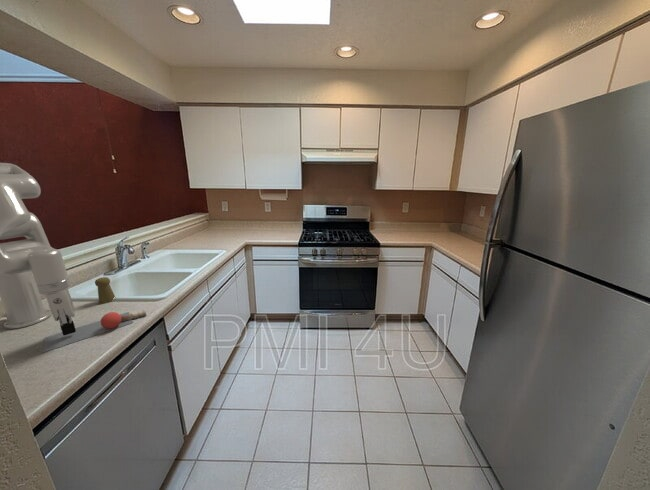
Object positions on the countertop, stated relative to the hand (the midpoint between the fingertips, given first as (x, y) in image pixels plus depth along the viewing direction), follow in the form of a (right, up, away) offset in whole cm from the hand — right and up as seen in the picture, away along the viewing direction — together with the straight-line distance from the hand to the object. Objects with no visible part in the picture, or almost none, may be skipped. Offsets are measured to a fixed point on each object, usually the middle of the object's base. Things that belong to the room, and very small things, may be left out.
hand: (69, 332), depth 91 cm
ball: (+11, +3, +5) cm, 12 cm away
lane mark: (+4, 0, +4) cm, 6 cm away
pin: (+11, +2, +9) cm, 14 cm away
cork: (-9, +6, +26) cm, 28 cm away
